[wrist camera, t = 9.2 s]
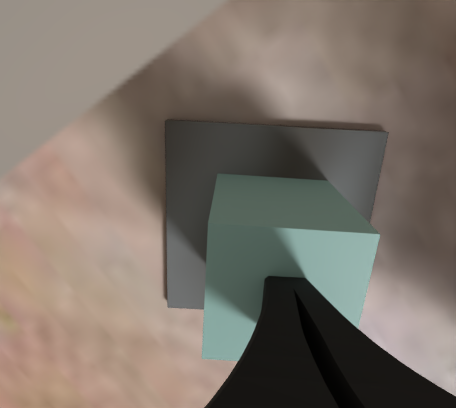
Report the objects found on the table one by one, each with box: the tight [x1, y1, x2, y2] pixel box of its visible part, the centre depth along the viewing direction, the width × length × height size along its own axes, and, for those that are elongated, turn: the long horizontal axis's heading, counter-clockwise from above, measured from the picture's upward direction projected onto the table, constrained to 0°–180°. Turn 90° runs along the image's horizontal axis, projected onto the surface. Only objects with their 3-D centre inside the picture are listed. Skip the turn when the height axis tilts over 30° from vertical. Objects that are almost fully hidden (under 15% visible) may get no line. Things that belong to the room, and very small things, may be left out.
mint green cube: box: [202, 174, 380, 361], centre depth 14 cm, size 5×5×6 cm
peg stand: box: [165, 120, 389, 309], centre depth 14 cm, size 10×10×5 cm
